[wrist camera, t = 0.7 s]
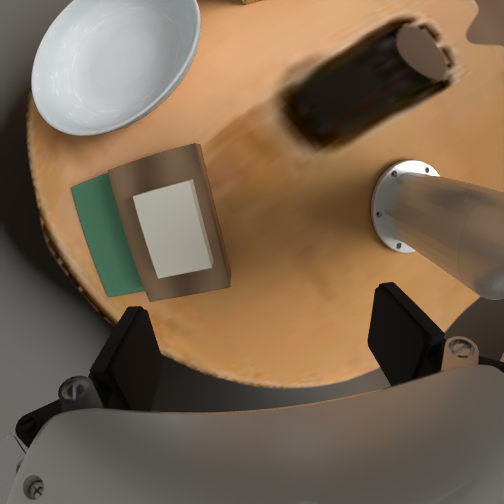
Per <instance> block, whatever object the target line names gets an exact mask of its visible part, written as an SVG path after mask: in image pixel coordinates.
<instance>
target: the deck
mask: <svg viewBox="0 0 504 504" xmlns="http://www.w3.org/2000/svg"><path fill="white" fill-rule="evenodd" d="M108 173H109V177H110V181H111V185H112V189H113V193H114V196H115V200H116V204H117V207H118V211H119V214H120V218H121V221H122V224H123V228H124V231H125V234H126V237H127V240H128V243H129V246H130V249H131V252H132V255H133V258H134V261H135V264H136V267H137V270H138V273H139V275H140V278H141V281H142V283H143V286H144V289H145V291H146V294H147V296H148V299H149V301H150V302H152V301H158V300H164V299H170V298H175V297H181V296H186V295H192V294H197V293H203V292H208V291H213V290H219V289H224V288H229V287H230V283H231V270H230V266H229V262H228V258H227V254H226V250H225V246H224V242H223V238H222V234H221V230H220V226H219V222H218V218H217V214H216V210H215V206H214V201H213V197H212V193H211V189H210V184H209V180H208V176H207V172H206V167H205V163H204V159H203V154H202V150H201V145H200V144H195V143H194V144H190V145H186V146H183V147H179V148H176V149H172V150H169V151H165V152H162V153H159V154H155V155H152V156H149V157H146V158H143V159H140V160H137V161H134V162H131V163H128V164H125V165H122V166H119V167H116V168H114V169H111V170H108ZM190 179H193V182H194V186H195V190H196V194H197V198H198V202H199V206H200V210H201V214H202V218H203V222H204V226H205V230H206V234H207V238H208V241H209V245H210V249H211V253H212V256H213V260H214V261H213V265H212V268H209V269H204V270H199V271H194V272H189V273H184V274H179V275H174V276H169V277H164V278H159V279H158V277H157V274H156V271H155V268H154V265H153V262H152V259H151V256H150V253H149V250H148V247H147V244H146V241H145V237H144V234H143V231H142V228H141V224H140V221H139V217H138V214H137V210H136V207H135V203H134V200H133V196H135V195H137V194H140V193H143V192H147V191H150V190H153V189H157V188H160V187H164V186H168V185H171V184H175V183H179V182H182V181H186V180H190Z"/></svg>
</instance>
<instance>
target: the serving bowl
mask: <svg viewBox="0 0 504 504" xmlns="http://www.w3.org/2000/svg"><path fill="white" fill-rule="evenodd" d="M200 32H201V16H200V10H199V6H198V3H197V1H196V0H74V1H72V2H71V3H70V4H69V5H68V6H67V7H66V8H65V9H64V10H63V11H62V12H61V13H60V14H59V16H58V17H57V18H56V19H55V20H54V22H53V23H52V24H51V26H50V27H49V29H48V30H47V32H46V34H45V36H44V37H43V39H42V41H41V44H40V46H39V48H38V51H37V54H36V57H35V60H34V64H33V70H32V80H31V83H32V94H33V98H34V102H35V105H36V107H37V109H38V111H39V113H40V114H41V116H42V117H43V118H44V120H45V121H46V122H47V123H48V124H49V125H51V126H52V127H53V128H55V129H57V130H59V131H61V132H63V133H66V134H70V135H76V136H92V135H99V134H103V133H108V132H112V131H115V130H118V129H121V128H123V127H126V126H128V125H130V124H132V123H134V122H136V121H138V120H140V119H141V118H143V117H144V116H146V115H147V114H149V113H150V112H152V111H153V110H154V109H156V108H157V107H158V106H159V105H160V104H162V103H163V102H164V101H165V100H166V99H167V98H168V97H169V96H170V95H171V94H172V92H173V91H174V90H175V89H176V88H177V86H178V85H179V84H180V83H181V81H182V80H183V78H184V77H185V75H186V73H187V72H188V70H189V68H190V66H191V64H192V62H193V60H194V57H195V55H196V52H197V48H198V45H199V40H200Z"/></svg>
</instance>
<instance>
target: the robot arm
mask: <svg viewBox="0 0 504 504" xmlns="http://www.w3.org/2000/svg"><path fill="white" fill-rule="evenodd" d="M391 173H392V175H391ZM377 212H378V214H377ZM376 214H377V215H376ZM371 218H372V223H373V226H374V229H375V231H376V233H377V235H378V236H379V238H380V239H381V240H382V241H383V242H384V243H385V244H386V245H387V246H388V247H390V248H391V249H393V250H395V251H397V252H402V253H412V252H416V251H417V252H418V253H420V254H421V255H423V256H424V257H426V258H427V259H429V260H430V261H432V262H433V263H435V264H436V265H438V266H439V267H440V268H442V269H443V270H445V271H446V272H448V273H449V274H450V275H452V276H453V277H455V278H456V279H457V280H459V281H460V282H461V283H463V284H464V285H465V286H467V287H468V288H470V289H471V290H472V291H474V292H475V293H477V294H478V295H480V296H482V297H484V298H488V299H502V298H504V192H500V191H497V190H493V189H489V188H486V187H482V186H478V185H474V184H470V183H466V182H462V181H458V180H454V179H449V178H445V177H440V176H439V175H438V173H437V172H436V171H435V170H434V169H433V168H432V167H431V166H430V165H428V164H426V163H424V162H422V161H418V160H402V161H399V162H397V163H395V164H393V165H392V166H390V167H389V168H388V169H387V170H386V171H385V172H384V173H383V174H382V175H381V177H380V178H379V180H378V182H377V184H376V186H375V188H374V191H373V195H372V200H371ZM444 335H445V333H444V332H443V331H442V330H441V329H440V328H439V327H438V326H437V325H436V324H435V323H434V322H433V321H432V320H431V319H430V318H429V317H428V316H427V315H426V314H425V313H424V312H423V311H422V310H421V309H420V308H419V307H418V306H417V305H416V304H415V303H414V302H413V301H412V300H411V299H410V298H409V297H408V296H407V295H406V294H405V293H404V292H403V291H402V290H401V289H400V288H399V287H398V286H397V285H396V284H395V283H393V282H388V283H382V284H380V285H379V287H378V288H376V289H375V294H374V302H373V309H372V316H371V322H370V329H369V334H368V346H369V348H370V350H371V352H372V353H373V355H374V357H375V359H376V360H377V362H378V364H379V365H380V367H381V369H382V371H383V372H384V374H385V376H386V377H387V379H388V381H389V383H390V384H391V386H390V387H386V388H383V389H379V390H375V391H371V392H366V393H362V394H358V395H354V396H349V397H344V398H339V399H334V400H329V401H323V402H318V403H311V404H305V405H298V406H291V407H282V408H274V409H264V410H252V411H238V412H216V413H172V412H151V408H152V405H153V401H154V398H155V394H156V391H157V387H158V384H159V380H160V377H161V373H162V370H163V359H162V356H161V353H160V350H159V347H158V344H157V341H156V337H155V334H154V331H153V328H152V324H151V321H150V318H149V314H148V311H147V310H144V309H143V307H141V306H135V307H128V308H127V309H126V311H125V312H124V314H123V315H122V317H121V319H120V320H119V322H118V323H117V325H116V327H115V328H114V330H113V332H112V333H111V335H110V337H109V338H108V340H107V342H106V343H105V345H104V347H103V348H102V350H101V352H100V353H99V355H98V357H97V358H96V360H95V362H94V364H93V365H92V367H91V369H90V374H89V376H88V377H86V376H81V375H79V376H73V377H71V378H69V379H67V380H65V381H64V382H63V383H62V384H61V386H60V387H59V391H58V397H59V400H57V401H54V402H52V403H50V404H48V405H46V406H44V407H42V408H39V409H37V410H35V411H33V412H30V413H28V414H26V415H24V416H23V417H22V418H21V419H20V420H19V421H18V423H17V425H16V428H15V429H16V434H15V435H13V434H12V433H10V434H9V435H8V436H7V437H5V438H4V439H3V440H2V441H0V504H504V354H503V356H502V358H501V360H500V361H497V360H493V359H489V358H485V357H481V356H478V348H477V346H476V345H475V344H474V343H473V342H472V341H471V340H469V339H467V338H464V337H452V338H450V339H448V340H447V341H446V340H445V339H444Z"/></svg>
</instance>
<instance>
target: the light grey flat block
mask: <svg viewBox="0 0 504 504" xmlns="http://www.w3.org/2000/svg"><path fill="white" fill-rule="evenodd" d="M133 200H134V203H135V207H136V210H137V214H138V217H139V221H140V224H141V228H142V231H143V234H144V237H145V241H146V244H147V247H148V250H149V253H150V256H151V259H152V262H153V265H154V268H155V271H156V274H157V277H158V279H159V278H164V277H169V276H174V275H179V274H184V273H189V272H194V271H199V270H204V269H209V268H212V265H213V261H214V260H213V256H212V253H211V249H210V245H209V241H208V238H207V234H206V230H205V226H204V222H203V218H202V214H201V210H200V206H199V202H198V198H197V194H196V190H195V186H194V182H193V179H190V180H186V181H182V182H179V183H175V184H171V185H168V186H164V187H160V188H157V189H153V190H150V191H147V192H143V193H140V194H137V195H135V196H133Z"/></svg>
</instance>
